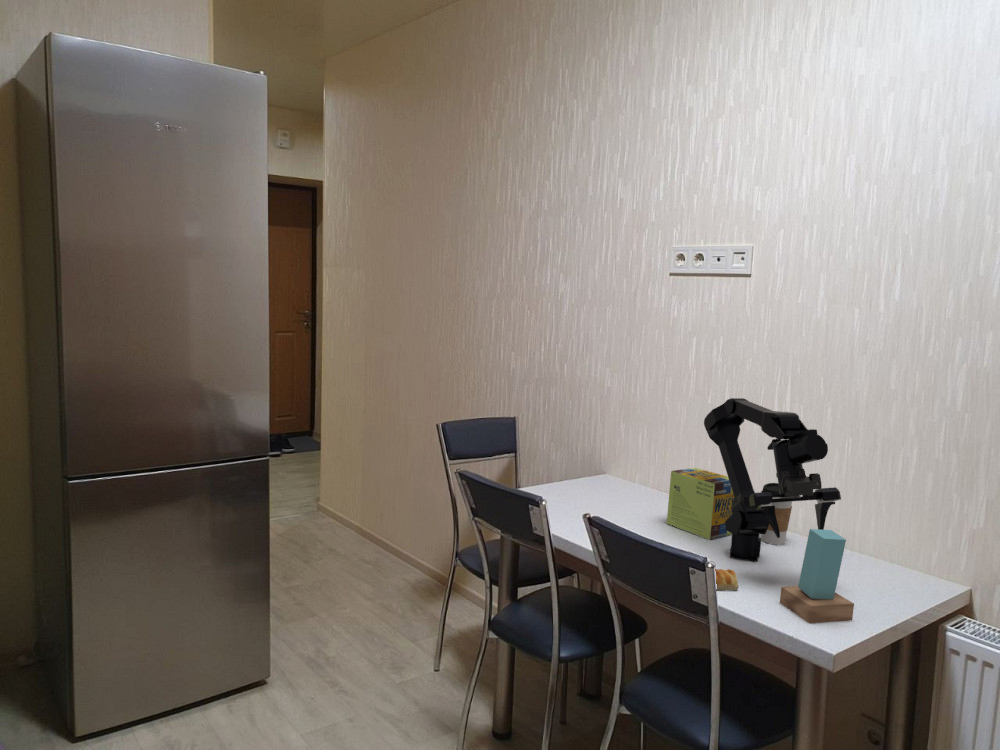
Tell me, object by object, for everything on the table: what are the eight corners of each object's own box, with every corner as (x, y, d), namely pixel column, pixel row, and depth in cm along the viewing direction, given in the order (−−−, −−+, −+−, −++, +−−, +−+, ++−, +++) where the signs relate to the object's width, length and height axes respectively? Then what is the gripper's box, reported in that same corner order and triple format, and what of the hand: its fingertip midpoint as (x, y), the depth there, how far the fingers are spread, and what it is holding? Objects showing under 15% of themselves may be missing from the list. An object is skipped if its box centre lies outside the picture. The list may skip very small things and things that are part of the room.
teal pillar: (798, 587, 159) (809, 529, 156) (819, 587, 160) (831, 530, 157) (811, 598, 154) (823, 538, 152) (833, 599, 155) (846, 539, 153)
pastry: (699, 592, 165) (700, 575, 164) (688, 580, 171) (690, 564, 171) (740, 592, 166) (742, 575, 165) (728, 580, 172) (729, 564, 172)
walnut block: (779, 604, 161) (781, 586, 160) (819, 602, 163) (821, 584, 163) (809, 625, 151) (811, 606, 151) (851, 622, 154) (854, 603, 153)
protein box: (710, 540, 199) (715, 483, 198) (665, 524, 212) (670, 470, 210) (735, 534, 206) (739, 479, 204) (690, 519, 218) (694, 466, 216)
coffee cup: (793, 540, 203) (798, 486, 201) (785, 548, 196) (790, 492, 194) (761, 533, 207) (766, 480, 206) (752, 541, 200) (757, 486, 199)
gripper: (754, 465, 165) (765, 537, 161) (843, 458, 163) (855, 532, 160) (744, 471, 176) (754, 539, 172) (827, 465, 174) (838, 534, 170)
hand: (799, 536), depth 168 cm, fingers open, 9 cm apart
